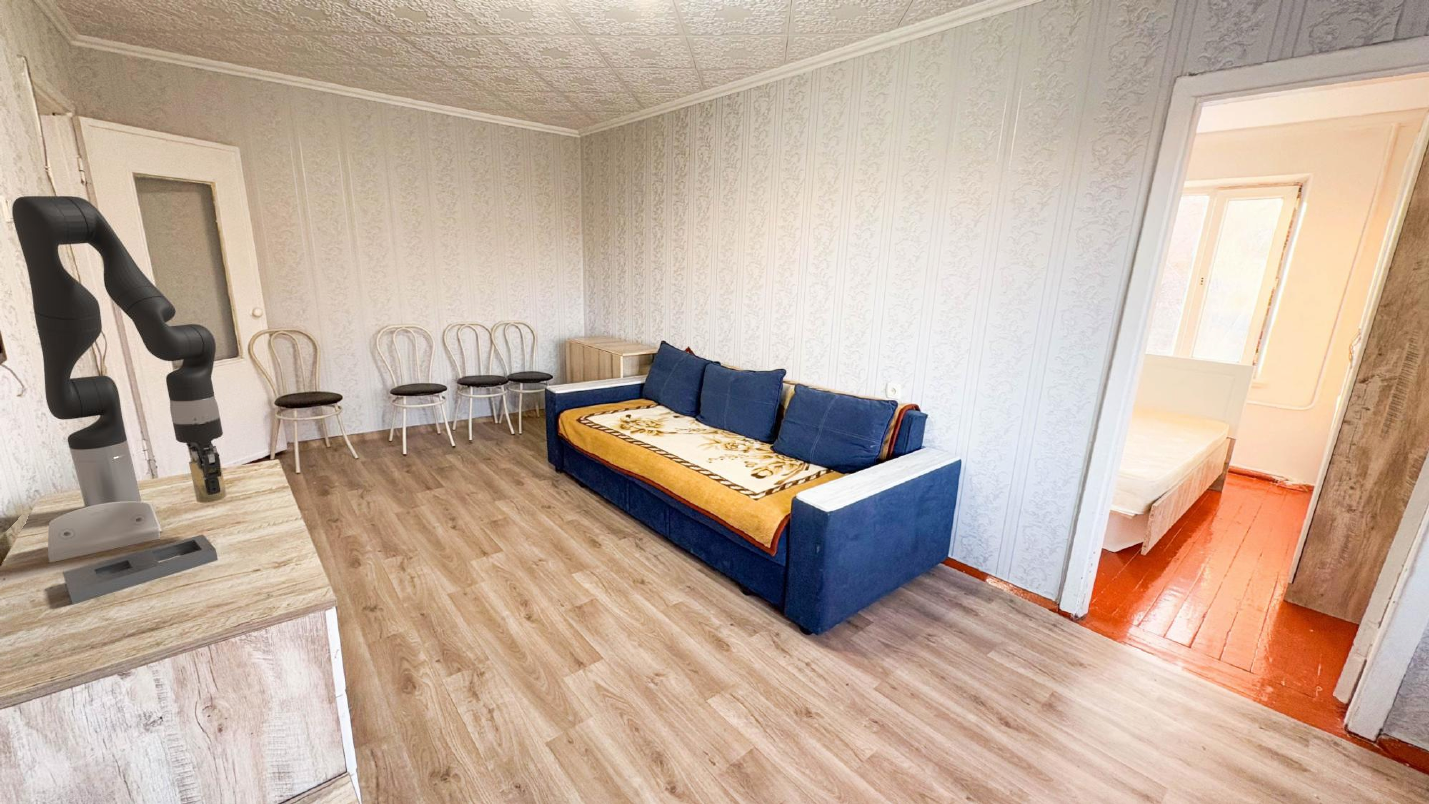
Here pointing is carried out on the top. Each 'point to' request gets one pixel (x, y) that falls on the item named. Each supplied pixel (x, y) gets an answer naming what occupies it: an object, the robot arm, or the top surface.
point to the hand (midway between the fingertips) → (210, 489)
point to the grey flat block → (137, 568)
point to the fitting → (200, 485)
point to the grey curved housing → (102, 529)
